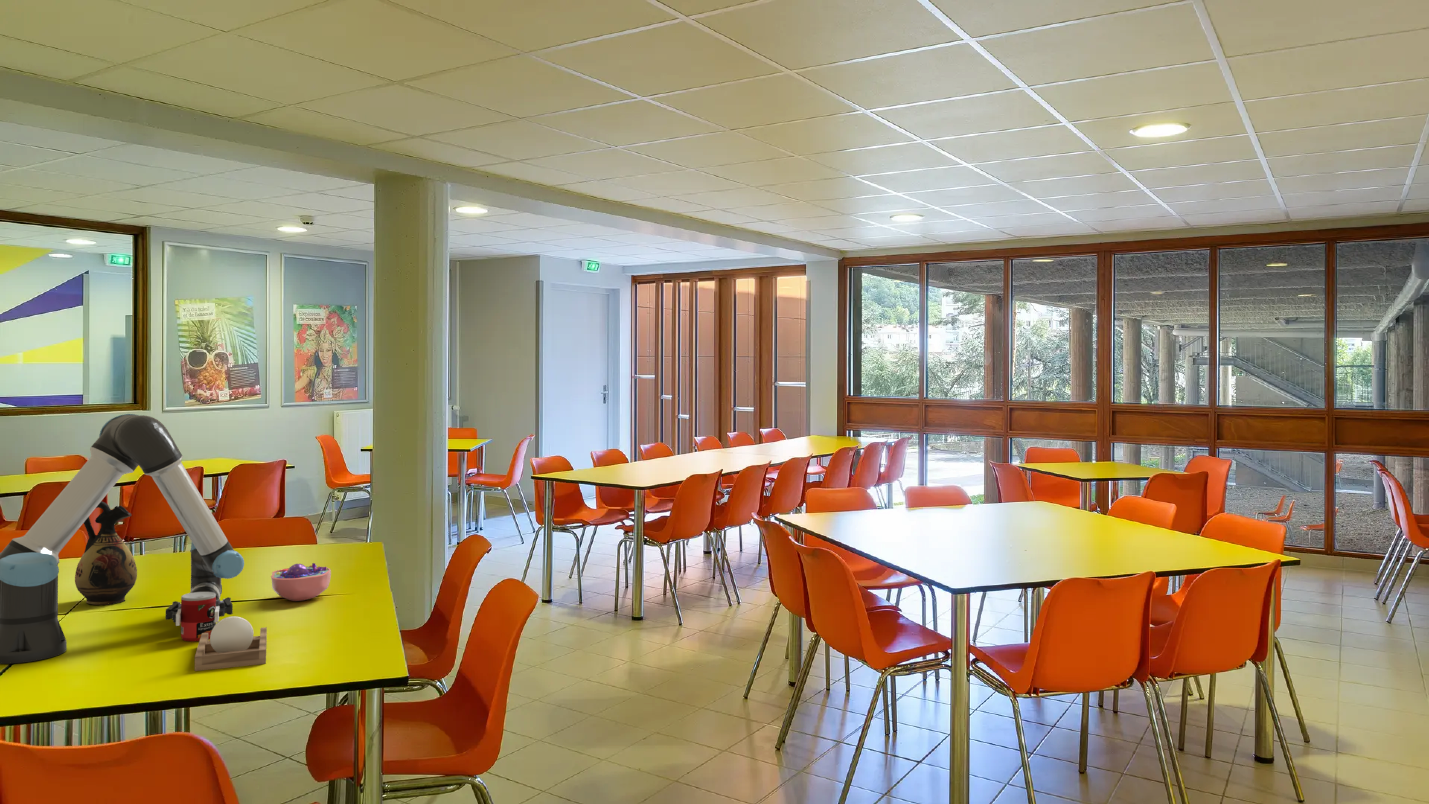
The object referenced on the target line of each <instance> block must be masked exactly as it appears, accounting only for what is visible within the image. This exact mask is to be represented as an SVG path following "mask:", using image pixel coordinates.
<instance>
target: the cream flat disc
mask: <svg viewBox="0 0 1429 804" xmlns="http://www.w3.org/2000/svg"><path fill="white" fill-rule="evenodd" d="M254 634H255V633H254V628H253V626H252V624H251V623H250V622H249V620H247V619H246V618H243V617H242V616H241V617H240V616H235V615H234V616H228V617H225V618H223V619H220V620H218V622H216V625H215V626H214V628H213V629H212V632H211V635H210V639H209V641H210V643H211V646H212V648H213V649H214V650H215V651H216V652H217V653H223V652H233V651H243V650H246V649H247V648H248V647H249V646H250V645H251V643H252V640H253V636H254Z"/></svg>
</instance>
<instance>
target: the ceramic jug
mask: <svg viewBox="0 0 1429 804" xmlns="http://www.w3.org/2000/svg"><path fill="white" fill-rule="evenodd" d="M97 508H99V509H101V510H102V512H101V513H100V514H99V515H98V516H97V517H96V518H95V520H94V521H95V524H100V526H101V527H100V529H99V530H98V532H97V534H96V533H95V530H94V527H93V526H92V522H91V519H90V516H89V517H88V518H87V519H86V520H85V522H84V523H83V524H84V527H85V530H86V533H87V536H88V539H87V543H86V545H85V549H84V552H83V554H82V556H81V558H80V559H79V562H78V563H77V565H76V568H75V569H76V570H75V574H74V583H75V587H76V590H77V591H78V593H80V594H81V595H82V596H83V597H84V598H85V599H86V602H85V603H86V604H89V605H96V606H100V605H107V606H109V605H114V604H118V603H123V602H125V601H126V600H125V599H126V597H127V596H126V595H127V594H128V593H130V591H131V590H132V589H133V587H134V586H135V585H136V581H137V579H138V568H137V565H136V561H135V557H134V556H133V554H132V552H131V551H130V549H129V547H128V546H127V544H125V542H124V541H123V539H122V538H121V537H120V536H119V535H118V533H117V532H116V529H115V528H116V527H115V525H116V524H117V523H118V522H121V521H122V520H124V519H127V518H129V517H132V513H131V512H129V511H128V510H127V508H125V507H124V506H122V505H116V506H115V507H113V508H112V509H111V508H110V505H109V504H108V503H106V502H104V501H103V500H102V501H101V502H100V503H99V504H98V506H97V507H96V508H95V509H97Z"/></svg>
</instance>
